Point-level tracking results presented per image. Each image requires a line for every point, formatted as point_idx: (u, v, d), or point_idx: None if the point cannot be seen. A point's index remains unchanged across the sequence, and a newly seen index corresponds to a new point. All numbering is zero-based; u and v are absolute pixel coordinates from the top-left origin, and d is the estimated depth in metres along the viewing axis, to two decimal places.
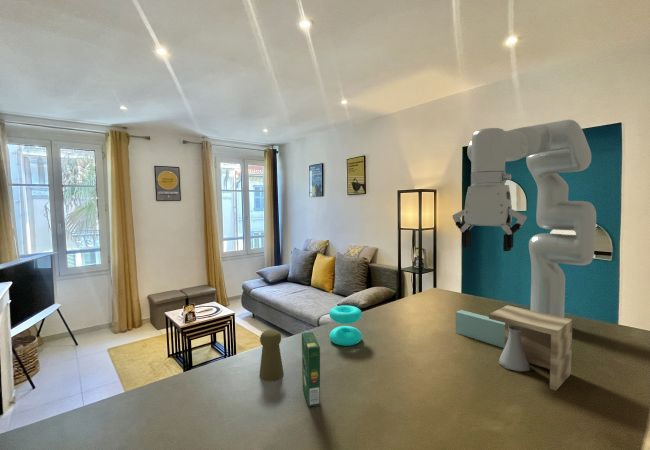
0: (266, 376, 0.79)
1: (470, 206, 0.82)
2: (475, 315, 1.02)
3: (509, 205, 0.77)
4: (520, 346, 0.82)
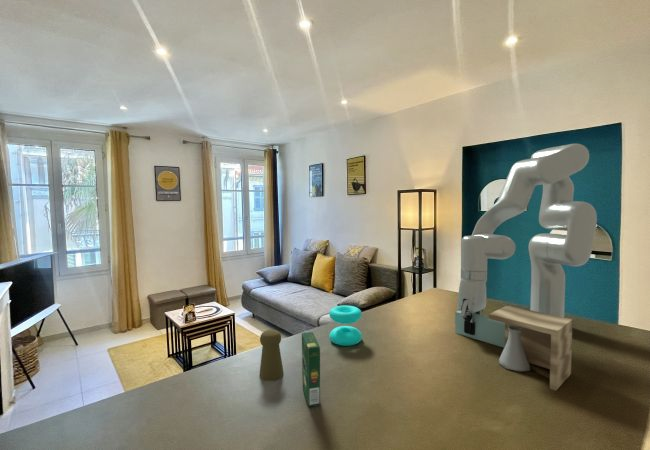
0: (266, 376, 0.79)
1: (475, 298, 0.99)
2: (475, 314, 1.02)
3: None
4: (520, 346, 0.82)
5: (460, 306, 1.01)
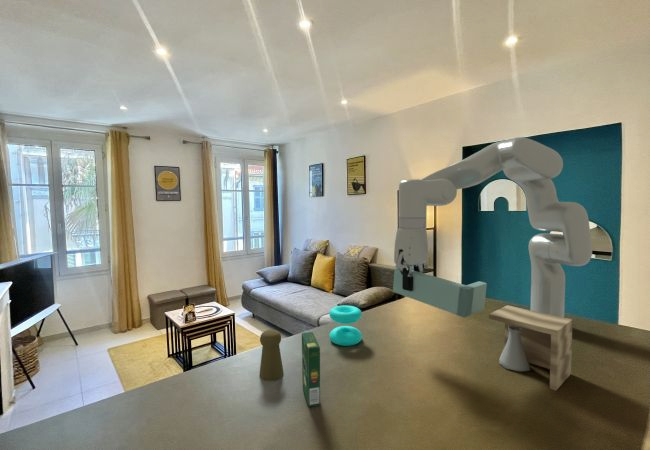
0: (266, 376, 0.79)
1: (412, 248, 0.87)
2: (414, 272, 0.91)
3: None
4: (520, 346, 0.82)
5: (396, 258, 0.89)
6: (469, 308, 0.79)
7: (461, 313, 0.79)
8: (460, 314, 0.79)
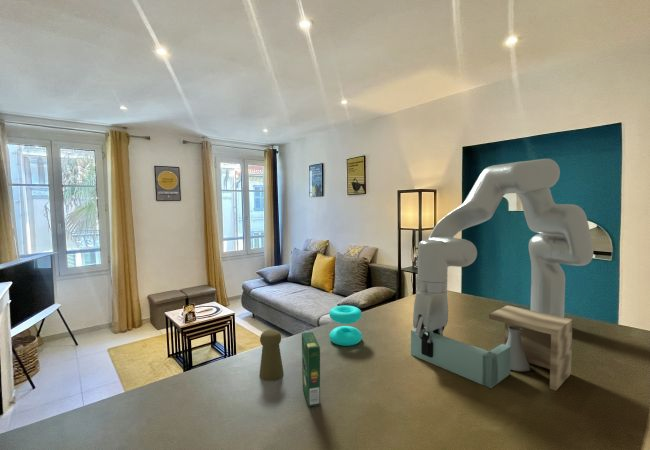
0: (266, 376, 0.79)
1: (432, 314, 0.83)
2: (432, 334, 0.87)
3: None
4: (520, 346, 0.82)
5: (415, 323, 0.85)
6: (494, 377, 0.75)
7: (487, 383, 0.74)
8: (486, 384, 0.75)
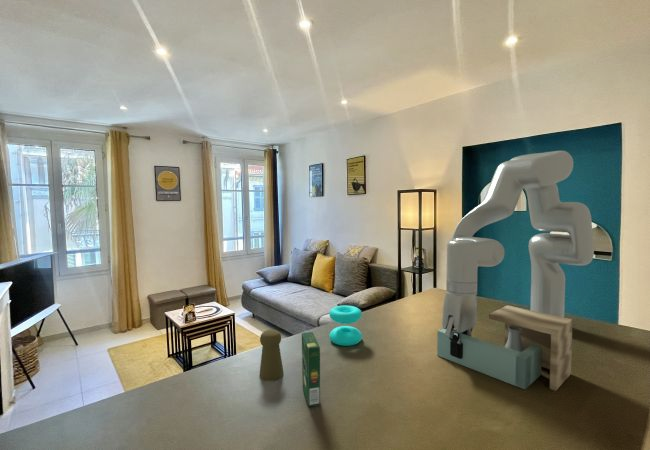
0: (266, 376, 0.79)
1: (463, 315, 0.82)
2: None
3: None
4: (520, 346, 0.82)
5: (445, 324, 0.84)
6: (528, 378, 0.74)
7: (520, 384, 0.74)
8: (519, 385, 0.74)
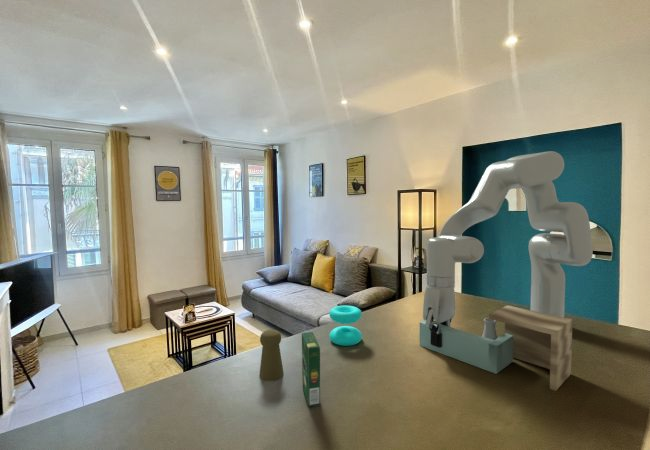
0: (266, 376, 0.79)
1: (441, 307, 0.89)
2: None
3: None
4: (493, 337, 0.88)
5: (425, 316, 0.91)
6: (499, 363, 0.81)
7: (493, 369, 0.81)
8: (492, 370, 0.81)
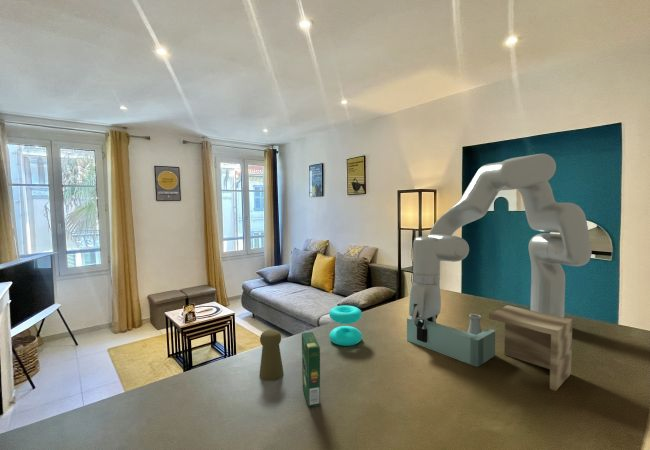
0: (266, 376, 0.79)
1: (426, 303, 0.93)
2: (426, 321, 0.97)
3: None
4: (477, 332, 0.92)
5: (411, 312, 0.95)
6: (481, 357, 0.85)
7: (474, 362, 0.84)
8: (473, 363, 0.84)
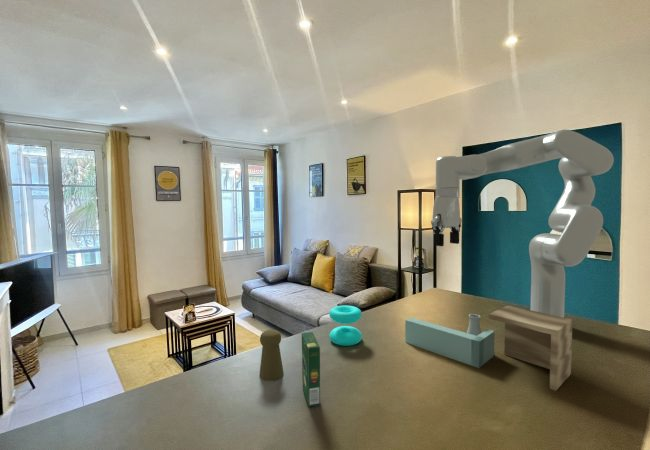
0: (266, 376, 0.79)
1: (448, 213, 1.06)
2: (425, 323, 0.96)
3: None
4: (477, 332, 0.92)
5: None
6: (482, 358, 0.84)
7: (475, 363, 0.84)
8: (474, 365, 0.84)
